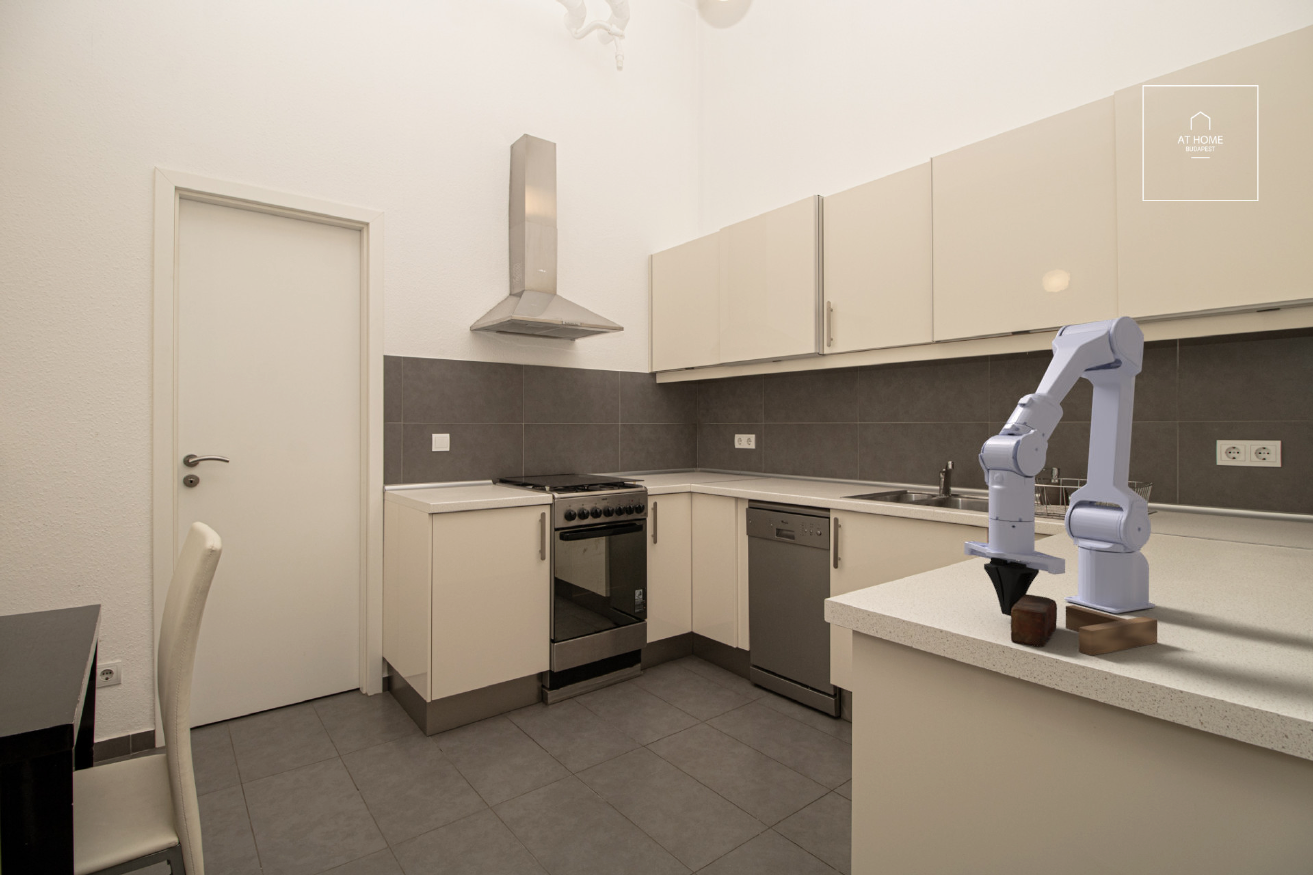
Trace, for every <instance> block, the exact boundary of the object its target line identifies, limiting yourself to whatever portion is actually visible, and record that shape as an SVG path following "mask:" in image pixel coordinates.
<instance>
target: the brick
mask: <svg viewBox="0 0 1313 875" xmlns="http://www.w3.org/2000/svg"><path fill="white" fill-rule="evenodd" d="M1057 619H1058V604H1057V601H1056V600H1054V599H1052V598H1049V597H1046V596H1040V595H1034V594H1028V593H1026V594H1025V595H1024V596H1023V597H1022V598H1021V599H1020V600H1019V601H1018V602H1017V603H1016V604H1015V605H1014V606H1013V607H1012V611H1011V616H1010V631H1011V632H1010V638H1011V642H1012V643H1015V644H1021V645H1026V646H1031V647H1035V648H1043V647H1045V645H1046V643H1048V642H1049V641H1050V639H1051V638H1052V636H1053V634H1054V632H1055V631H1056V629H1057V622H1058V620H1057Z"/></svg>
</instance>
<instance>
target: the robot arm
mask: <svg viewBox="0 0 1313 875" xmlns="http://www.w3.org/2000/svg"><path fill="white" fill-rule="evenodd" d="M1144 344H1145V334H1144V332H1143V331H1142V329H1141V328H1140V326H1139V324H1138V323H1137V321H1135V319H1133V318H1132V317H1130V316H1128V315H1126V316H1125V315H1123V316H1120V317H1117V318H1112V319H1104V320H1098V321H1097V320H1096V321H1092V322H1091V321H1090V322H1086V323H1080V324H1079V323H1078V324H1066V325H1064V326H1062V327H1061V328H1060V329H1058V332H1057V334H1056V336H1055V338H1054V339H1053V340H1052V341H1051V348H1052V354H1053V357H1052V359H1051V361H1050V363H1049V365H1048V367H1047V369H1046V371H1045V373H1044V375H1043V377H1042V378H1041V381H1040V382H1039V384H1038V387H1037V389H1036V391H1035V392H1034V393H1030V394H1025V395H1024V396H1023V397H1021V398H1020V399H1019V400H1018V402H1017V406H1016V407H1015V408H1014V410H1013V412H1012V413H1011V415H1010V417H1009V418H1008V420H1007V421H1006V423H1005V424H1004V426H1003V427H1002V428H1001V431H1000V432H999V433H998V434H997V435H993V436H990V438H988V439H987V440H986V441H985V442H984V443H983V445H982V447H981V450H980V453H979V454H978V462H979V464H980V467H981V468H982V471H983V473H984V482H985V484H986V485H987V486H988V542H982V541H974V540H971V541H964V544H963V546H964V548H963V549H964V553H963V554H964V555H966V556H975V557H980V558H985V559H990V561H989V563H988V562H987V563H984V564H983V569H984V571H985V572H986V574H987V576H988V577H989V580H991V583H992V585H993V587H994V590H995V593H996V595H997V599H998V604H999V607H1000V611H1001V614H1003V615H1005V616H1009V617H1011V611H1012V607H1013V606H1014V605H1015V604H1016V603H1017V602H1018V601H1019V600H1020V599H1021V598H1022V597H1023V596H1024V595H1025V594H1028V591H1029V589H1030V587H1031V585H1032V584H1033V582H1034V580H1035V578H1036V577H1037V576H1038V574H1039V573H1040V571H1043V572H1047V573H1048V574H1051V575H1061V574H1065V573H1066V559H1065V558H1062V557H1057V556H1054V555H1050V554H1047V553H1044V552H1040V551H1037V550H1035V546H1036V544H1035V542H1036V541H1035V538H1036V537H1035V535H1036V534H1035V529H1036V528H1035V526H1036V525H1035V524H1036V520H1035V519H1036V517H1035V516H1036V515H1035V514H1036V512H1035V510H1036V505H1035V504H1036V502H1035V501H1036V500H1035V499H1036V494H1035V493H1036V479H1035V478H1036V475H1038V474H1039V473H1040V472H1041V471H1042V469H1043V468H1044V467H1045V465H1046V462H1047V461H1046V460H1047V450H1048V448H1049V446H1048V445H1049V443H1048V440H1049V439H1050V437H1051V436H1052V434H1053V432H1054V431H1055V429H1056V427H1057V426H1058V424H1059V422H1060V420H1061V419H1062V417H1063V415H1064V410H1063V408H1062V405H1061V404H1060V403H1061V402H1062V401H1063V400H1064V398H1065V397H1066V396H1067V394H1068V393H1069V392H1070V390H1071V389H1073V386H1074V385H1075V384H1076V383H1077V381H1078V380H1079V379H1080V378H1084V379H1087V380H1088V381H1089V382H1090V383H1091V385H1092V386H1093V392H1092V407H1091V421H1090V422H1091V423H1090V432H1089V434H1090V437H1089V450H1088V462H1087V463H1088V464H1087V480H1086V483H1085V485H1083V486H1082V487H1080V488H1078V489H1076V491H1074V492H1072V493H1071V494H1070V502H1069V505H1068V509H1067V510H1066V513H1065V516H1064V528H1065V531H1066V533H1067V536H1069V538H1070V539H1072V540H1073V545H1075V546H1077V595H1071V596H1065V597H1064V600H1065V601H1067V602H1070V603H1074V604H1078V605H1082V606H1086V607H1089V608H1093V609H1098V610H1101V611H1105V612H1109V613H1112V614H1121V613H1127V612H1132V611H1139V610H1144V609H1150V608H1156V603H1153V602H1150V565H1149V562H1148V559H1147V557H1146V556H1145V554H1143V553H1142V551H1141V549H1142V548H1143V547H1144V546H1145V545H1146V544H1147V543H1148V542H1149V540H1150V537H1151V533H1152V524H1151V521H1150V517H1149V510H1148V508H1149V507H1148V504H1149V503H1148V501H1147V499H1145V498H1144V497H1143V496H1141V495H1140V494H1139V493H1137V492H1136V491H1134V489H1132V488H1131V487H1130V486H1129V475H1130V462H1131V459H1130V458H1131V448H1132V447H1131V445H1132V432H1133V430H1132V429H1133V415H1134V414H1133V413H1134V402H1135V387H1136V386H1135V385H1136V384H1135V383H1136V376H1137V375H1138V374H1140V373H1141V372H1142V370H1143V359H1144V358H1143V356H1144V347H1145V346H1144ZM1098 502H1099V503H1100V502H1101V503H1111V504H1116V505H1118V506H1114V505H1113V506H1112V505H1106V504H1105V505H1102V504H1097V503H1098Z"/></svg>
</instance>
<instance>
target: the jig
mask: <svg viewBox="0 0 1313 875" xmlns="http://www.w3.org/2000/svg"><path fill="white" fill-rule="evenodd" d="M1065 629H1067V630H1068V629H1069V630H1071V631H1074V632H1078V652H1079V653H1081V654H1085V655H1088V656H1090V657H1093V656H1097V655H1102V654H1103V655H1104V654H1108V653H1112V652H1117V651H1123V650H1127V649H1132V648H1138V647H1144V646H1148V645H1152V644H1153V645H1154V644H1157V643H1158V619H1156V618H1152V617H1149V616H1145V615H1143V616H1139V617H1131V618H1124V617H1120V616H1116V615H1113V614H1108V613H1105V612H1101V611H1097V610H1094V609H1093V610H1092V609H1089V608H1086V607H1082V606H1077V605H1075V604H1073V605H1072V604H1071V605H1066V606H1065Z"/></svg>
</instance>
